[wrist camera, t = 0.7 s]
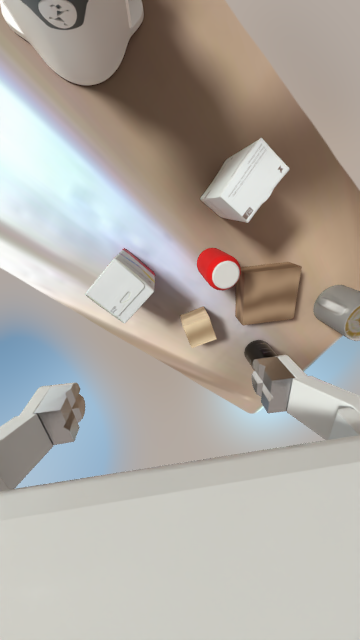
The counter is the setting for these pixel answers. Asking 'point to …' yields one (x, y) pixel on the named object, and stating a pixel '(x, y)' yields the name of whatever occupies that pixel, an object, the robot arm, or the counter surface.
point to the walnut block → (267, 293)
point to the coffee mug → (340, 310)
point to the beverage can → (218, 268)
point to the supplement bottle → (258, 351)
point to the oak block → (198, 327)
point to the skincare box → (245, 182)
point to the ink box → (123, 286)
